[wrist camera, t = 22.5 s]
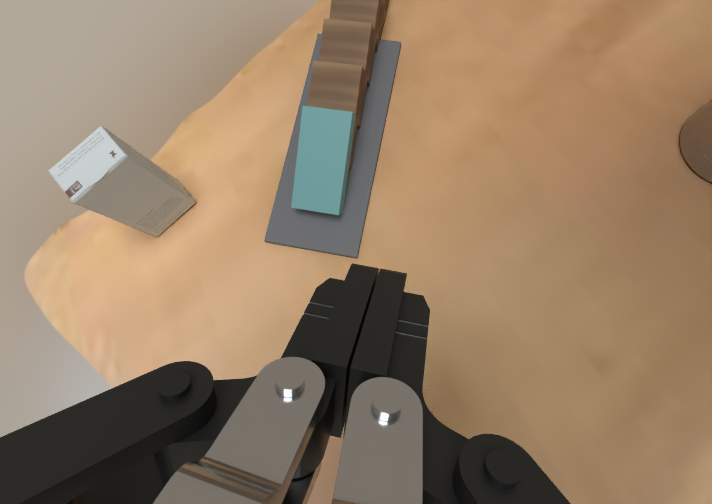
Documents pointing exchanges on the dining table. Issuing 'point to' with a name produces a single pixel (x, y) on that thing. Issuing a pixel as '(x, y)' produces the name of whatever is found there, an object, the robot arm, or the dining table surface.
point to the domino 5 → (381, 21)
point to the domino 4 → (323, 160)
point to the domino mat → (348, 227)
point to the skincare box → (121, 184)
